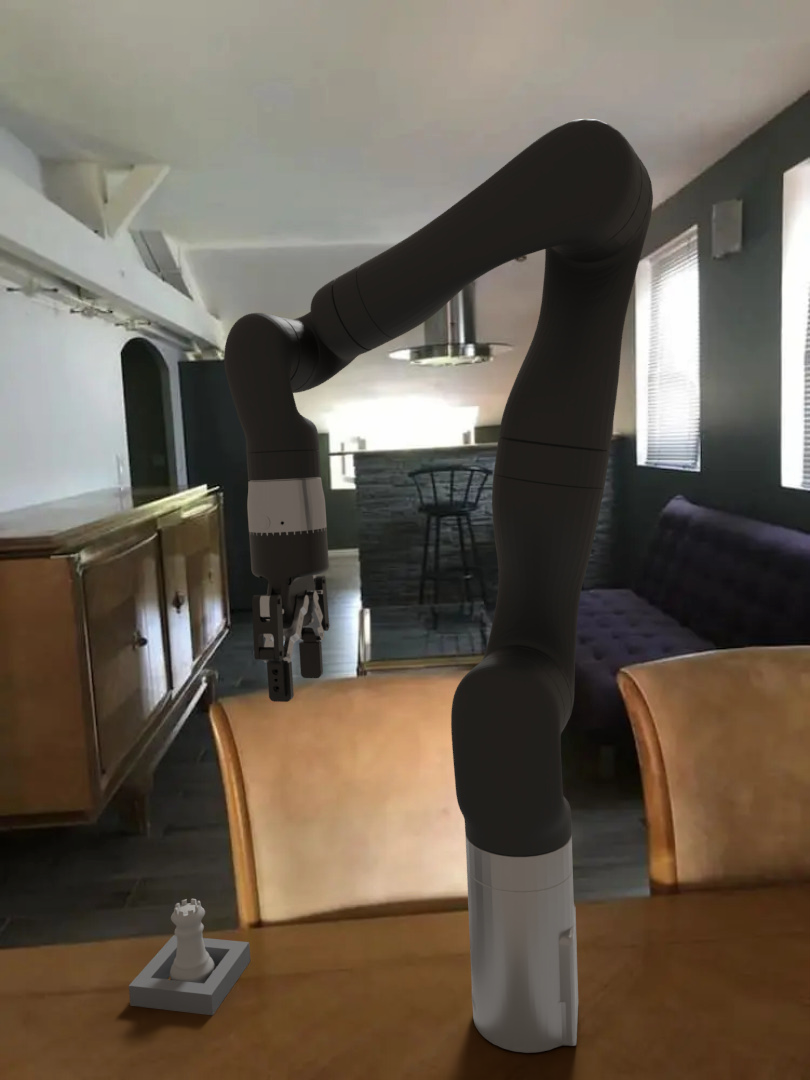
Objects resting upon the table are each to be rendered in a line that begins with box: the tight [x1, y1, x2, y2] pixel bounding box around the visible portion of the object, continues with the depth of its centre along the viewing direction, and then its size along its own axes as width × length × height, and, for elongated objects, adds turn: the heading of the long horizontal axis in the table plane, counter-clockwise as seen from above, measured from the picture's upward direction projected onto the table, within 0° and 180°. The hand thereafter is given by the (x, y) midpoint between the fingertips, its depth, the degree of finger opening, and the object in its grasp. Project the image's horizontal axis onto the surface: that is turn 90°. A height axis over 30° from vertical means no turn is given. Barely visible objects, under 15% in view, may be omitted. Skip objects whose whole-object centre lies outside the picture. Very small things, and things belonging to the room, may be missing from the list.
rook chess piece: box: [169, 898, 216, 984], centre depth 82 cm, size 4×4×8 cm
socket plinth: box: [128, 934, 251, 1016], centre depth 82 cm, size 8×8×2 cm
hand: (297, 688), depth 83 cm, fingers open, 8 cm apart
